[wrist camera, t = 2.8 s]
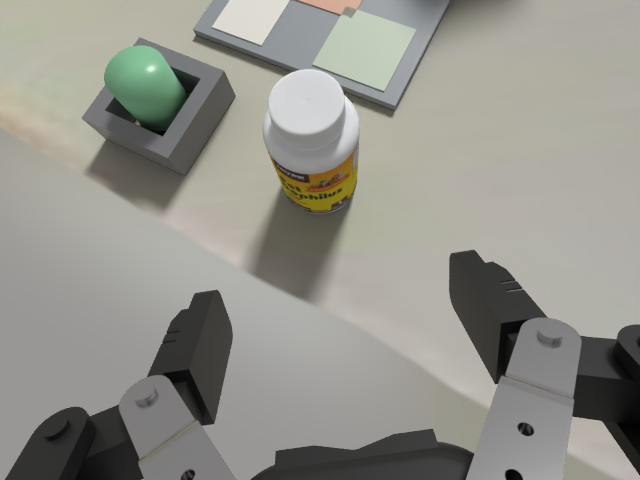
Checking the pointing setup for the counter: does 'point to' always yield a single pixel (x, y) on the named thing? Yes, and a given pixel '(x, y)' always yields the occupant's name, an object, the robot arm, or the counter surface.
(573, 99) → the counter surface
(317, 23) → the sheet board
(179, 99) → the button
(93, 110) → the button housing
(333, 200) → the supplement bottle
